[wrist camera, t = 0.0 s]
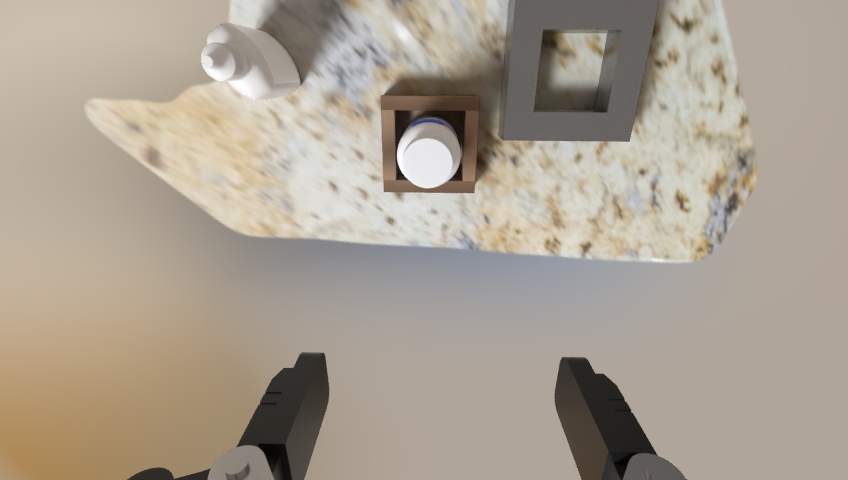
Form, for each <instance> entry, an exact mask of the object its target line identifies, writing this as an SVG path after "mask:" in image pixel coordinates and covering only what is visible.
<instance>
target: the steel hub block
mask: <svg viewBox="0 0 848 480" xmlns="http://www.w3.org/2000/svg"><path fill="white" fill-rule="evenodd" d="M658 4H659V0H509V6H508V19H507V31H506V44H505V56H504V69H503V81H502V94H501V106H500V119H499V131H498V136H499V137H500V138H501V139H502V140H525V141H625V142H630V137H631V132H632V127H633V123H634V118H635V113H636V109H637V104H638V99H639V94H640V90H641V85H642V80H643V75H644V71H645V66H646V61H647V57H648V52H649V47H650V42H651V38H652V33H653V28H654V23H655V19H656V14H657V9H658ZM543 33H607V39H606V45H605V50H604V56H603V62H602V68H601V74H600V80H599V86H598V91H597V97H596V103H595V109H594V110H582V109H534V105H535V96H536V87H537V79H538V70H539V61H540V52H541V43H542V34H543Z"/></svg>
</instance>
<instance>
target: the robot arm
mask: <svg viewBox="0 0 848 480" xmlns="http://www.w3.org/2000/svg"><path fill="white" fill-rule="evenodd" d="M328 399H329V382H328V375H327V366H326V359H325V354H324V353H304V352H303V353H301V354H300V355H299V357H298V359H297V361H296V364H295V366H294V368H284V369H282V370H281V371H280V372H279V373H278V374H277V375H276V376H275V377H274V378H273V379H272V380H271V382H270V384H269V386H268V388H267V390H266V392H265V395H264V396H263V398H262V399H261V401H260V405H258V407H257V409H256V411H255V413H254V415H253V417H252V419H251V420H250V422H249V424H248V426H247V428H246V430H245V432H244V434H243V436H242V438H241V440H240V441H239V443H238V445H237V447H236V448H234V449H232V450H230V451H228V452H226V453H225V454H223V455H222V456H221V457H220V458H219V459H218V460H217V461H216V462H215V463H214V465H213V466H212V468H210V469H208V470H205V471H202V472H198V473H195V474H191V475H187V476H184V477H180V478H176V479H174V478H173V475H172V473H171V472H170V471H169V470H167V469H165V468H151V469H147V470H144V471H142V472H139V473H137V474H135V475H134V476H132V477H130V478H129V479H128V480H304V478H305V475H306V472H307V469H308V465H309V462H310V459H311V456H312V453H313V450H314V446H315V443H316V440H317V437H318V434H319V430H320V427H321V424H322V421H323V418H324V415H325V412H326V409H327V405H328ZM555 405H556V410H557V413H558V416H559V419H560V421H561V424H562V427H563V430H564V432H565V435H566V438H567V440H568V443H569V446H570V449H571V451H572V454H573V457H574V460H575V462H576V465H577V468H578V471H579V473H580V476H581V479H582V480H687V479H685V477H684V475H683V474H682V473H681V472H680V471H679V470H678V469H677V468H676V467H675V466H674V465H673V464H672V463H670V462H669V461H667V460H665V459H664V458H661V457H659V456H658V455H657V454H656V452H655V450H654V449H653V447H652V445H651V443H650V442H649V440H648V438H647V437H646V435H645V433H644V431H643V430H642V428H641V426H640V425H639V423H638V421H637V419H636V418H635V416H634V414H633V413H631V409H630V407H629V406H628V404H627V402H625V400H624V397H623V396H622V394H621V392H620V390H619V389H618V387H617V385H615V384H614V383H613V382H612V381H611V380H610V379H609V378H608V377H607V376H605V375H604V374H595V372H594V371H593V369H592V367H591V365H590V363H589V361H588V360H587V359H586V358H584V357H583V358H581V357H562V359H561V361H560V365H559V371H558V377H557V383H556V388H555Z"/></svg>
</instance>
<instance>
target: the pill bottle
mask: <svg viewBox="0 0 848 480" xmlns="http://www.w3.org/2000/svg"><path fill="white" fill-rule="evenodd" d="M460 159H461V152H460V146H459V142H458V139H457V135H456V132H455V130H454V128H453V127H452V126H451V124H450V123H449V122H448V121H447V120H445V119H444V118H442V117H439V116H436V115H425V116H421V117H419V118H417V119H415V120H414V121H413V122H412V123H411V124H410V125H409V126H408V127H407V129H406V131H405V132H404V134H403V136H402V138H401V140H400V142H399V145H398V149H397V161H398V165H399V167H400V170H401V171H402V173H403V174H404V176H405V177H406V178H407V179H408V180H409V181H411V182H412V183H413V184H415V185H417V186H419V187H422V188H434V187H437V186H439V185H442V184H444V183H445V182H447V181H448V180H449V179H451V178H452V177H453V175H454V174H455V173H456V171H457V169H458V167H459V164H460Z"/></svg>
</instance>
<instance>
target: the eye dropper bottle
mask: <svg viewBox="0 0 848 480" xmlns="http://www.w3.org/2000/svg"><path fill="white" fill-rule="evenodd" d="M207 44H208V45H207V46H206V47H205V48H204V49H203V52H202V55H201V62H202V65H203V68H204V69H205V71H206V72H207V73H208V74H209V76H211V77H212V78H214V79H216V80H218V81H219V80H220V81H228V83H230V84H231V85H232V86H233V87H234V88H235V89H236V90H238V91H239V92H240V93H242V94H243V95H245V96H246V97H248V98H250V99H252V100H257V101H258V100H267V99H273V98H279V97H285V96H288V95H289V94H291V93H292V92H294V91H295V90H296V89H297V88H298V87H299V86H300V77H299V73H298V71H297V68H296V66H295V64H294V62H293V60H292V58H291V56H290V55H289V53H288V52H287V51H286V50H285V48H284V47H283V46H282V45H281V44H280V43H279V42H278V41H277V40H276V39H275V38H273V37H272V36H271V35H269V34H268V33H266V32H264V31H261V30H256V29H252V28H248V27H244V26H239V25H235V24H230V23H223V24H220V25H219V26H217V27H216V28H215V29H214V30H213V31H211V33H209V35H208V37H207Z"/></svg>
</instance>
